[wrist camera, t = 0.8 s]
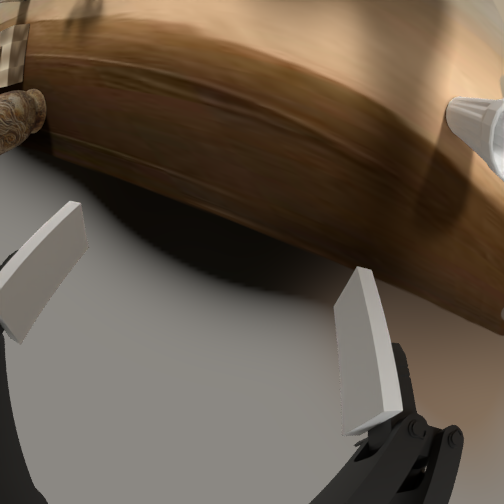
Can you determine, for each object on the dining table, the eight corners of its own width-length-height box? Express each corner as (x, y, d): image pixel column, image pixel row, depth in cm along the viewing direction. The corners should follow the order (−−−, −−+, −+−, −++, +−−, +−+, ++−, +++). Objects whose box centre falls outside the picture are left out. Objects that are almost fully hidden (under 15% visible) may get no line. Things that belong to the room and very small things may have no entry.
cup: (474, 156, 29) (525, 194, 19) (427, 136, 30) (479, 169, 19) (488, 99, 23) (546, 123, 13) (440, 72, 24) (499, 83, 13)
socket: (-1, 36, 20) (-15, 39, 17) (30, 23, 20) (14, 25, 17) (-6, 87, 27) (-20, 92, 24) (22, 81, 28) (7, 86, 24)
